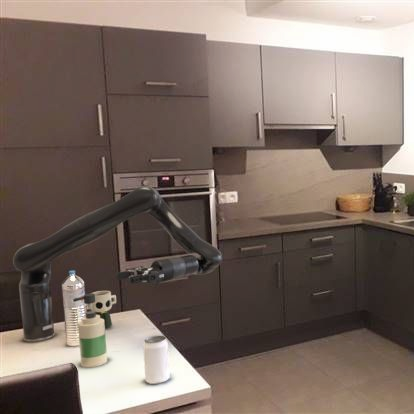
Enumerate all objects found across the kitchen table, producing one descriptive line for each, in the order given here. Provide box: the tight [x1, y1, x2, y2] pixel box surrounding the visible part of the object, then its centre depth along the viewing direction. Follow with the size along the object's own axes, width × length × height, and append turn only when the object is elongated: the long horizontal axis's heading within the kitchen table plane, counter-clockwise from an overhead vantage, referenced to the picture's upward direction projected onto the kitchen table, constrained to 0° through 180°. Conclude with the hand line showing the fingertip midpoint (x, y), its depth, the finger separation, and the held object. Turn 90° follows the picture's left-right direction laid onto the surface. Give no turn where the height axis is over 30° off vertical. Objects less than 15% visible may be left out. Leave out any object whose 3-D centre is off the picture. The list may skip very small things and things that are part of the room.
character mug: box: [86, 290, 117, 328], centre depth 200 cm, size 11×7×13 cm, turn 134°
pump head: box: [73, 292, 95, 308], centre depth 165 cm, size 6×3×4 cm, turn 142°
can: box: [142, 335, 171, 385], centre depth 155 cm, size 6×6×12 cm
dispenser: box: [78, 310, 108, 368], centre depth 167 cm, size 7×7×16 cm
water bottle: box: [61, 270, 88, 347], centre depth 184 cm, size 7×7×25 cm
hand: (123, 278), depth 174 cm, fingers open, 8 cm apart
